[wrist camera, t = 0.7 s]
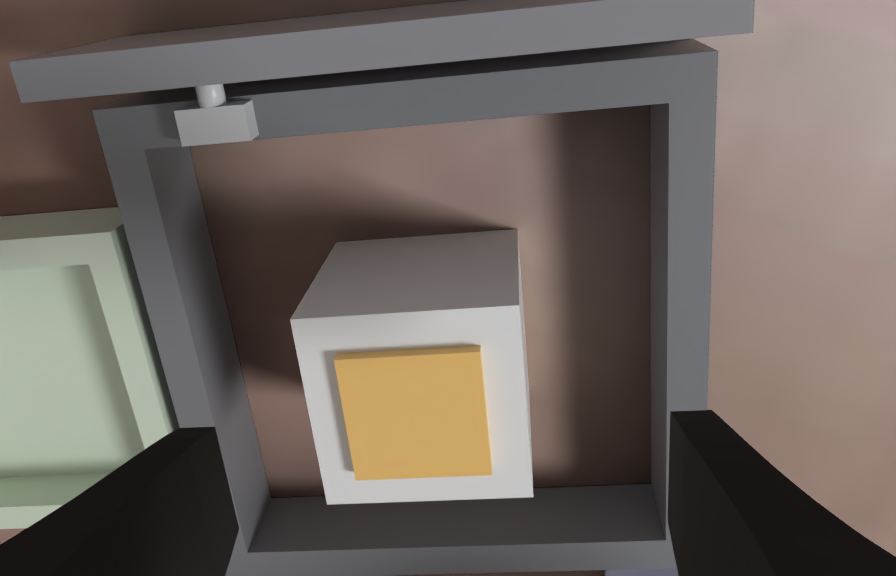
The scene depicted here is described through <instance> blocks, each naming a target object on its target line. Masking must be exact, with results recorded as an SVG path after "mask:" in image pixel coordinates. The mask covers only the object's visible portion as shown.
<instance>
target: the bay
mask: <svg viewBox="0 0 896 576" xmlns="http://www.w3.org/2000/svg"><path fill="white" fill-rule="evenodd" d="M178 428H180V427H179V423H178V420H177V416H176V413H175V409H174V405H173V402H172V398H171V395H170V391H169V387H168V384H167V380H166V377H165V373H164V369H163V366H162V362H161V358H160V355H159V351H158V348H157V344H156V340H155V337H154V333H153V330H152V326H151V322H150V319H149V315H148V312H147V308H146V304H145V301H144V297H143V294H142V290H141V286H140V283H139V279H138V276H137V272H136V268H135V265H134V261H133V257H132V254H131V250H130V247H129V243H128V239H127V236H126V232H125V229H124V225H123V221H122V218H121V214H120V211H119V207H113V208H101V209H88V210H76V211H63V212H51V213H38V214H26V215H14V216H1V217H0V529H19V528H28V527H30V526H31V525H33V524H34V523H36V522H38V521H39V520H41V519H42V518H44V517H45V516H47V515H48V514H50V513H52V512H53V511H55V510H56V509H58V508H59V507H61V506H63V505H64V504H66V503H67V502H69V501H70V500H72V499H73V498H75V497H76V496H78V495H79V494H81V493H82V492H84V491H85V490H87V489H88V488H89V487H91V486H92V485H94V484H95V483H97V482H98V481H100V480H101V479H103V478H104V477H105V476H107V475H108V474H110V473H111V472H113V471H114V470H116V469H117V468H118V467H120V466H121V465H123V464H124V463H126V462H127V461H129V460H130V459H131V458H133V457H134V456H136V455H137V454H139V453H140V452H142V451H143V450H145V449H146V448H147V447H149V446H150V445H152V444H153V443H155V442H157V441H158V440H160V439H161V438H163V437H164V436H166V435H168V434H169V433H171V432H173V431H175V430H176V429H178Z"/></svg>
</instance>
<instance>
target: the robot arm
mask: <svg viewBox="0 0 896 576" xmlns="http://www.w3.org/2000/svg"><path fill="white" fill-rule="evenodd" d="M668 525H669V530H670V535H671V541H672V546H673V551H674V556H675V561H676V566H677V568H665V569H627V570H605V576H896V557H895V556H893V555H892V554H890V553H889V552H887V551H885V550H884V549H882V548H881V547H879V546H878V545H876V544H874V543H873V542H871V541H870V540H868V539H867V538H865V537H864V536H863V535H861V534H860V533H858V532H857V531H855V530H854V529H852V528H851V527H850V526H848V525H847V524H846V523H844V522H843V521H842V520H840V519H839V518H838V517H836V516H835V515H834V514H832V513H831V512H829V511H828V510H827V509H825V508H824V507H823V506H821V505H820V504H819V503H817V502H816V501H815V500H814V499H812V498H811V497H810V496H809V495H807V494H806V493H805V492H804V491H802V490H801V489H800V488H799V487H797V486H796V485H795V484H794V483H793V482H791V481H790V480H789V479H788V478H787V477H785V476H784V475H783V474H782V473H781V472H780V471H778V470H777V469H776V468H775V467H774V466H773V465H771V464H770V463H769V462H768V461H767V460H766V459H765V458H764V457H762V456H761V455H760V454H759V453H758V452H757V451H756V450H755V449H754V448H753V447H751V446H750V445H749V444H748V443H747V442H746V441H745V440H744V439H743V438H742V437H741V436H739V435H738V434H737V433H736V432H735V431H734V430H733V429H732V428H731V427H730V426H729V425H728V424H726V423H725V422H724V421H723V420H722V419H721V418H720V417H719V416H718V415H717V414H716V413H714V412H713V411H712V410H696V411H670V445H669V484H668ZM238 531H239V525H238V521H237V517H236V513H235V509H234V504H233V500H232V496H231V492H230V488H229V483H228V479H227V475H226V471H225V466H224V462H223V458H222V454H221V450H220V445H219V441H218V437H217V433H216V428H215V427H191V428H178V429H176V430H175V431H173V432H171V433H169V434H168V435H166V436H164V437H163V438H161V439H160V440H158V441H157V442H155V443H153V444H152V445H150V446H149V447H147V448H146V449H145V450H143V451H142V452H140V453H139V454H137V455H136V456H134V457H133V458H131V459H130V460H129V461H127V462H126V463H124V464H123V465H121V466H120V467H118V468H117V469H116V470H114V471H113V472H111V473H110V474H108V475H107V476H105V477H104V478H103V479H101V480H100V481H98V482H97V483H95V484H94V485H92V486H91V487H89V488H88V489H87V490H85V491H84V492H82V493H81V494H79V495H78V496H76V497H75V498H73V499H72V500H70V501H69V502H67V503H66V504H64V505H63V506H61V507H59V508H58V509H56V510H55V511H53V512H52V513H50V514H48V515H47V516H45V517H44V518H42V519H41V520H39V521H38V522H36V523H34V524H33V525H31V526H30V527H28V528H27V529H25V530H23V531H22V532H20V533H19V534H17V535H16V536H14V537H12V538H11V539H9V540H7V541H6V542H4V543H2V544H1V545H0V576H225V575H226V571H227V568H228V565H229V562H230V559H231V556H232V552H233V549H234V545H235V542H236V538H237V535H238Z"/></svg>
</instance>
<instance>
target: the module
mask: <svg viewBox="0 0 896 576" xmlns="http://www.w3.org/2000/svg"><path fill="white" fill-rule="evenodd" d="M290 322H291V327H292V332H293V337H294V342H295V347H296V352H297V357H298V362H299V367H300V372H301V377H302V382H303V387H304V392H305V397H306V402H307V407H308V412H309V417H310V422H311V427H312V432H313V437H314V442H315V447H316V452H317V457H318V462H319V467H320V472H321V477H322V482H323V487H324V492H325V497H326V502H327V505H330V504H358V503H386V502H414V501H442V500H470V499H498V498H526V497H533V474H532V449H531V425H530V400H529V382H528V368H527V354H526V340H525V326H524V312H523V298H522V284H521V270H520V256H519V242H518V229H511V230H497V231H483V232H469V233H456V234H442V235H428V236H415V237H401V238H387V239H374V240H360V241H346V242H336V243H335V245H334V247H333V248H332V250H331V252H330V253H329V255H328V257H327V258H326V260H325V262H324V263H323V265H322V267H321V268H320V270H319V272H318V273H317V275H316V277H315V278H314V280H313V282H312V283H311V285H310V287H309V288H308V290H307V292H306V293H305V295H304V297H303V298H302V300H301V302H300V303H299V305H298V307H297V309H296V310H295V312H294V314H293V315H292V317H291V319H290Z"/></svg>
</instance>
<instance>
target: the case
mask: <svg viewBox="0 0 896 576" xmlns="http://www.w3.org/2000/svg"><path fill="white" fill-rule="evenodd" d="M754 5H755V0H464V1H454V2H445V3H435V4H426V5H416V6H407V7H397V8H388V9H378V10H369V11H359V12H350V13H340V14H331V15H321V16H312V17H302V18H293V19H283V20H273V21H264V22H254V23H245V24H235V25H226V26H216V27H207V28H197V29H188V30H178V31H169V32H159V33H150V34H140V35H131V36H123V37H119V38H114V39H110V40H105V41H100V42H96V43H91V44H87V45H82V46H78V47H73V48H69V49H64V50H60V51H55V52H50V53H46V54H41V55H37V56H32V57H28V58H23V59H19V60H14V61H10V62H8V63H9V66H10V69H11V72H12V75H13V79H14V82H15V85H16V88H17V92H18V95H19V98H20V101H21V103H30V102H41V101H51V100H61V99H72V98H82V97H92V96H103V95H113V94H123V93H134V92H139V93H136V94H133V95H131V96H128V97H125V98H123V99H120V100H117V101H115V102H112V103H110V104H107V105H104V106H102V107H99V108H96V109H94V110H92V113H93V117H94V120H95V124H96V128H97V131H98V135H99V138H100V142H101V146H102V149H103V153H104V156H105V160H106V164H107V167H108V171H109V174H110V178H111V182H112V185H113V189H114V193H115V196H116V200H117V203H118V207H119V211H120V214H121V218H122V221H123V225H124V229H125V232H126V236H127V239H128V243H129V247H130V250H131V254H132V257H133V261H134V265H135V268H136V272H137V276H138V279H139V283H140V286H141V290H142V294H143V297H144V301H145V304H146V308H147V312H148V315H149V319H150V322H151V326H152V330H153V333H154V337H155V340H156V344H157V348H158V351H159V355H160V358H161V362H162V366H163V369H164V373H165V377H166V380H167V384H168V387H169V391H170V395H171V398H172V402H173V405H174V409H175V413H176V416H177V420H178V423H179V427H180V428H191V427H215V428H216V433H217V437H218V441H219V445H220V450H221V454H222V458H223V462H224V466H225V471H226V475H227V479H228V483H229V488H230V492H231V496H232V500H233V504H234V509H235V513H236V517H237V521H238V525H239V531H238V535H237V538H236V542H235V545H234V549H233V552H232V556H231V559H230V562H229V565H228V568H227V571H226V575H225V576H394V575H433V574H472V573H510V572H549V571H588V570H627V569H665V568H677V566H676V561H675V556H674V551H673V546H672V541H671V535H670V530H669V525H668V484H669V445H670V411H696V410H707V392H708V359H709V327H710V295H711V262H712V230H713V197H714V165H715V133H716V100H717V68H718V51H717V50H715V49H713V48H711V47H709V46H707V45H705V44H703V43H700V42H698V41H696V40H694V39H692V38H702V37H712V36H723V35H733V34H743V33H753V26H754ZM681 39H685V40H681ZM671 40H675V41H671ZM661 41H664V42H661ZM650 42H654V43H650ZM640 43H644V44H640ZM630 44H633V45H630ZM619 45H623V46H619ZM609 46H613V47H609ZM599 47H602V48H599ZM588 48H592V49H588ZM578 49H582V50H578ZM568 50H571V51H568ZM557 51H561V52H557ZM547 52H551V53H547ZM537 53H540V54H537ZM526 54H530V55H526ZM516 55H520V56H516ZM506 56H509V57H506ZM495 57H499V58H495ZM485 58H489V59H485ZM475 59H478V60H475ZM464 60H468V61H464ZM454 61H458V62H454ZM444 62H447V63H444ZM433 63H437V64H433ZM423 64H427V65H423ZM413 65H416V66H413ZM402 66H406V67H402ZM392 67H396V68H392ZM382 68H385V69H382ZM371 69H375V70H371ZM361 70H365V71H361ZM351 71H354V72H351ZM340 72H344V73H340ZM330 73H334V74H330ZM320 74H323V75H320ZM309 75H313V76H309ZM299 76H303V77H299ZM289 77H292V78H289ZM278 78H282V79H278ZM268 79H272V80H268ZM258 80H261V81H258ZM247 81H251V82H247ZM237 82H241V83H237ZM227 83H230V84H227ZM185 87H189V88H185ZM175 88H178V89H175ZM165 89H168V90H165ZM154 90H158V91H154ZM144 91H147V92H144ZM641 105H650V219H651V484H636V485H609V486H582V487H555V488H533V497H526V498H498V499H470V500H442V501H414V502H386V503H358V504H330V505H327V502H326V497H325V496H314V497H287V498H271V495H270V490H269V486H268V482H267V478H266V473H265V469H264V465H263V460H262V456H261V452H260V447H259V443H258V439H257V435H256V430H255V426H254V422H253V417H252V413H251V409H250V405H249V400H248V396H247V392H246V387H245V383H244V379H243V375H242V370H241V366H240V362H239V357H238V353H237V349H236V345H235V340H234V336H233V332H232V327H231V323H230V319H229V315H228V310H227V306H226V302H225V297H224V293H223V289H222V285H221V280H220V276H219V272H218V267H217V263H216V259H215V255H214V250H213V246H212V242H211V237H210V233H209V229H208V225H207V220H206V216H205V212H204V207H203V203H202V199H201V194H200V190H199V186H198V182H197V177H196V173H195V169H194V164H193V160H192V156H191V152H190V147H189V146H197V145H208V144H219V143H231V142H242V141H251V140H257V139H268V138H279V137H291V136H302V135H313V134H325V133H336V132H347V131H358V130H370V129H381V128H392V127H404V126H415V125H426V124H438V123H449V122H460V121H472V120H483V119H494V118H506V117H517V116H528V115H539V114H551V113H562V112H573V111H585V110H596V109H607V108H619V107H630V106H641Z"/></svg>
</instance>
